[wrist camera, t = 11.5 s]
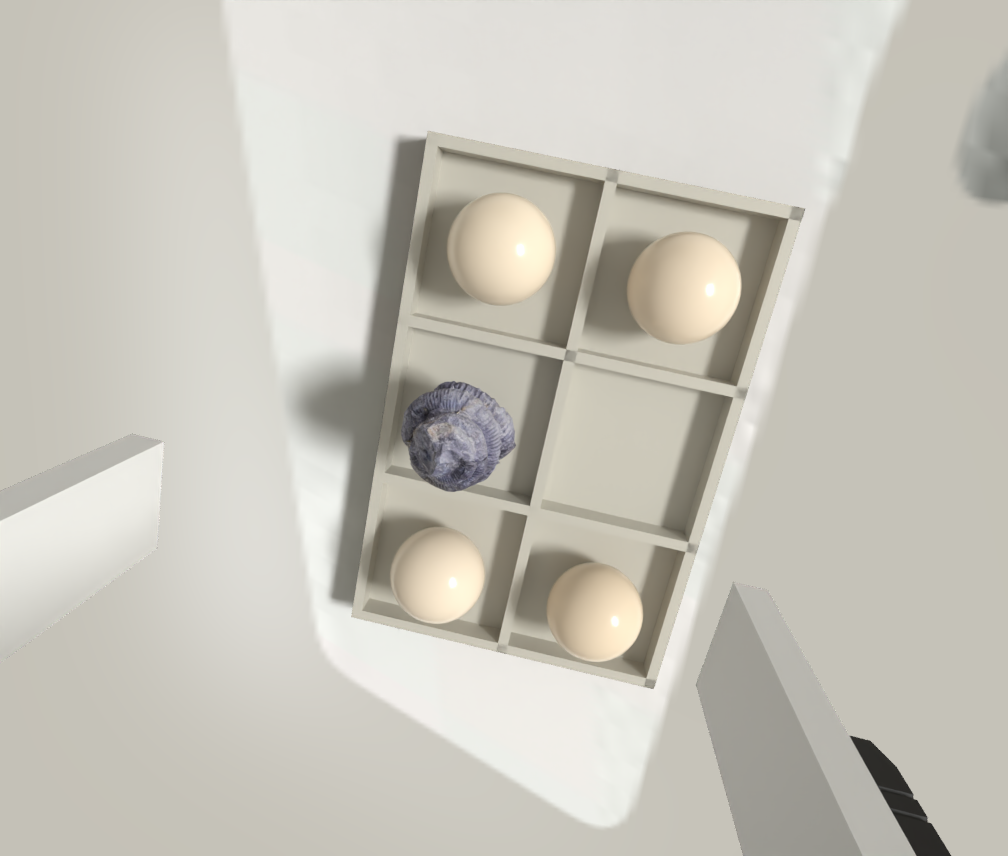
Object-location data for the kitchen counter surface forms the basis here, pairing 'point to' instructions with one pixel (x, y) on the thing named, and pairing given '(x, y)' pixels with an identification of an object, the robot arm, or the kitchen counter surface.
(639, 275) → the egg near right
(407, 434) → the seashell
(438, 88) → the kitchen counter surface
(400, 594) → the egg far left
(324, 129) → the kitchen counter surface
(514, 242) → the egg near left
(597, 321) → the egg tray
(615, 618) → the egg far right
